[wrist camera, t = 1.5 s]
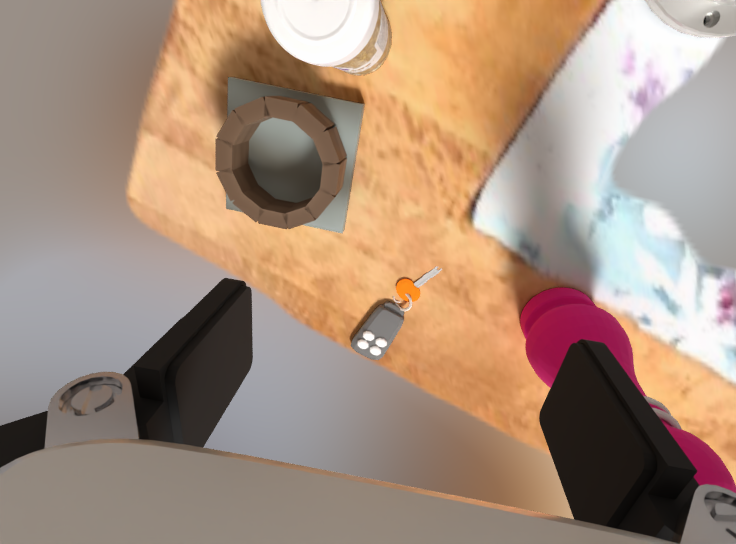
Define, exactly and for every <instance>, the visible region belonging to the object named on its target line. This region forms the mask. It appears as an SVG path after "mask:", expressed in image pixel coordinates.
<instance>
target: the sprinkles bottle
mask: <svg viewBox="0 0 736 544" xmlns="http://www.w3.org/2000/svg"><path fill="white" fill-rule="evenodd" d="M261 6H262V11H263V14H264V17H265V20H266V23H267V25H268V27H269V29H270V31H271V33H272V35H273V36H274V38H275V39H276V40H277V42H278V43H279V44H280V45H281V46H282V47H283V48H284V49H285V50H286V51H287V52H288V53H290V54H291V55H292V56H294V57H296V58H298V59H300V60H302V61H304V62H307V63H309V64H313V65H318V66H331V67H334V68H338V69H340V70H343V71H344V72H346V73H349V74H352V75H358V76H361V75H367V74H370V73H372V72H374V71H376V70H377V69H378V68H379V67H380V66H381V65H382V64H383V63H384V61H385V60H386V58H387V56H388V54H389V51H390V48H391V45H392V40H391V39H392V32H391V26H390V23H389V21H388V18H387V16H386V15H385V12H384V9H383V7H382V4H381V2H380V0H261Z"/></svg>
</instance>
